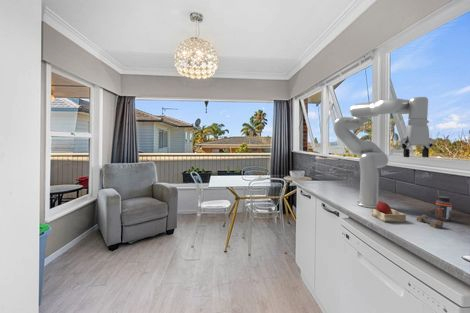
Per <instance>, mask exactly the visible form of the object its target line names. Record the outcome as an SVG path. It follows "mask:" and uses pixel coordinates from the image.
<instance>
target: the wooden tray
mask: <svg viewBox="0 0 470 313" xmlns="http://www.w3.org/2000/svg"><path fill="white" fill-rule="evenodd" d="M406 215H407V214H406V213H404V212H403V213H402V212H400V211H398V210H395V209H393V208H390V213H389V214H384V213H381V212H379V211H377V208H371V216H372V217H374V218H376V219H378V220H379V221H381V222H384V223H406V222H407V219H406V218H407V216H406Z"/></svg>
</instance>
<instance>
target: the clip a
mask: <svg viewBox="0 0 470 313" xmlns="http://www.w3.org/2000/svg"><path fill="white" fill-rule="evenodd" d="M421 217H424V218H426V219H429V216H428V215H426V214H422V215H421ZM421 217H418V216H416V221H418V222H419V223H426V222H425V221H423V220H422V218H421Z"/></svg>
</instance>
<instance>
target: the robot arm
mask: <svg viewBox="0 0 470 313" xmlns="http://www.w3.org/2000/svg"><path fill="white" fill-rule="evenodd" d="M428 110H429V98H428V97H426V96H416V97H413V98H410V99H403V98H389V99H388V98H386V99H380V100H379V99H378V100H376V101H369V102H359V103H355V104H353V105H351V107H350V108H349V113H350V115H351V116H349V117H348V116H340V117H339V118H337V119H336V120H335V121H334V123H333V131H334V134H335V135H336V136H337V138H338V139H339V140H340V141H341V142H342V143H343V144H344V146H346V147H347V149H348V150H349V151H350V152H351V153H352V154H353V155H355V156H360V157H359V159H358V162H359V171H360V178H359V179H360V180H359V181H360V183H359V184H360V185H359V196H358V197H357V198H358V199H359V200H358V201H356V205H357V206H360V207H364V208H371V209H377V204H378V201H379V183H380V180H379V179H380V178H379V171H378V169H380V168H385V167H386V166H387V165H388V163H389V157H388V155H387V154H386V153H385V152H384V151H383V150H382V149H381V148H380V147H379V146H378V145H377V144H376V143H375V142H373V141H371V140H365V139H360V138H359V137H358V136H357V135H356V134H355V133H354V132H352V131H357V130H358V129H360V128H361V127H362V126H363V125H364V123H365V122H367V121H368V120H369V119H370V118H371V117H374V118H375V117H379V115H386V114H389V115H390V114H395V115H396V114H397V115H408V122H407V125H406V126H405V130H404V134H403V138H401V139H399V140H398V142H399V144H400V147H402V149H403V157H404V158H410V156H411V155H410V153H411V150H410V149H411V146H421V147H422V152H421V156H422V158H429V156H430V155H429V153H430V150H431V148H432V147H433V145H434V143H435V140H434V139H432V138H431V137H430V127H429V125H428V124H429V121H430V120H428V112H429V111H428Z"/></svg>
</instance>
